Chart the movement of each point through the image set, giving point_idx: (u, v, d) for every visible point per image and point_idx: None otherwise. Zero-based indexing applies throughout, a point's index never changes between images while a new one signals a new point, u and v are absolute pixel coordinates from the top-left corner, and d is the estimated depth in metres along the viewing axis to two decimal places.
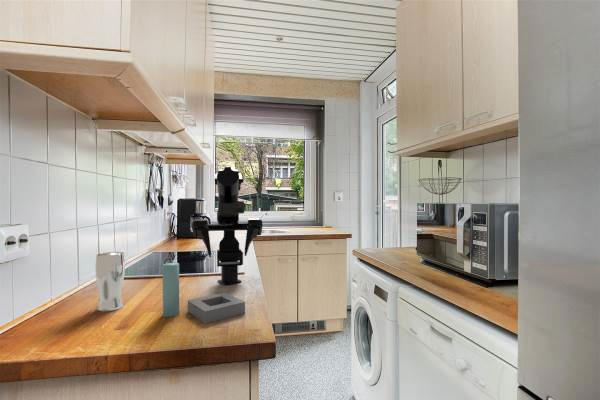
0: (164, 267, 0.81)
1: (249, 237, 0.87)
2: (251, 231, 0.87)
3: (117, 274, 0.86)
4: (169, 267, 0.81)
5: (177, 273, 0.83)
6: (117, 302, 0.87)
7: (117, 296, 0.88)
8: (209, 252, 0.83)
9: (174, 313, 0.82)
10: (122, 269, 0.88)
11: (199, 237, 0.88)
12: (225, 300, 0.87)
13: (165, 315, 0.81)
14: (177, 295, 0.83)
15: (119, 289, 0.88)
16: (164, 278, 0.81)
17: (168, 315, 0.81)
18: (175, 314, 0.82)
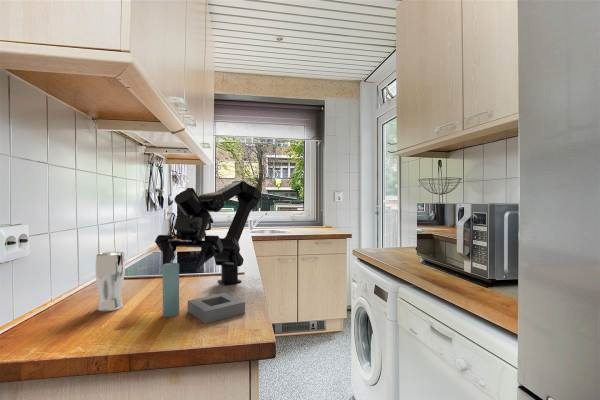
0: (164, 267, 0.81)
1: (203, 252, 0.89)
2: (205, 246, 0.90)
3: (117, 274, 0.86)
4: (169, 267, 0.81)
5: (177, 273, 0.83)
6: (117, 302, 0.87)
7: (117, 296, 0.88)
8: None
9: (174, 313, 0.82)
10: (122, 269, 0.88)
11: None
12: (225, 300, 0.87)
13: (165, 315, 0.81)
14: (177, 295, 0.83)
15: (119, 289, 0.88)
16: (164, 278, 0.81)
17: (168, 315, 0.81)
18: (175, 314, 0.82)
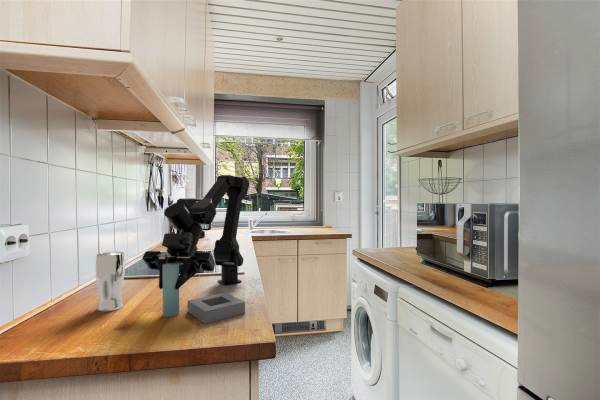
0: (164, 267, 0.81)
1: (184, 270, 0.84)
2: (187, 264, 0.84)
3: (117, 274, 0.86)
4: (169, 267, 0.81)
5: (177, 273, 0.83)
6: (117, 302, 0.87)
7: (117, 296, 0.88)
8: (160, 283, 0.82)
9: (174, 313, 0.82)
10: (122, 269, 0.88)
11: None
12: (225, 300, 0.87)
13: (165, 315, 0.81)
14: (177, 295, 0.83)
15: (119, 289, 0.88)
16: (164, 278, 0.81)
17: (168, 315, 0.81)
18: (175, 314, 0.82)
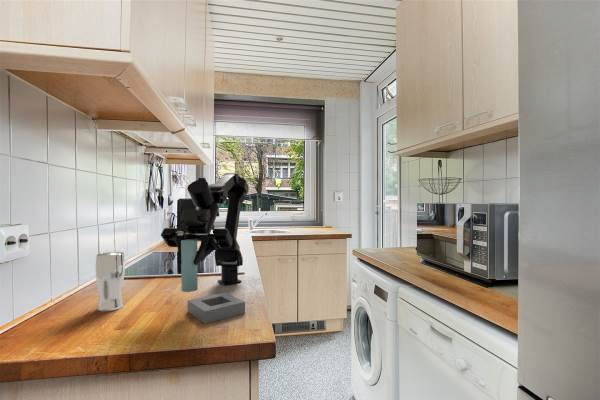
0: (183, 242, 0.82)
1: (202, 246, 0.84)
2: (205, 240, 0.84)
3: (117, 274, 0.86)
4: (188, 242, 0.82)
5: (195, 249, 0.83)
6: (117, 302, 0.87)
7: (117, 296, 0.88)
8: (178, 259, 0.83)
9: (193, 288, 0.82)
10: (122, 269, 0.88)
11: None
12: (225, 300, 0.87)
13: (184, 290, 0.82)
14: (195, 271, 0.83)
15: (119, 289, 0.88)
16: (183, 253, 0.82)
17: (187, 290, 0.82)
18: (194, 289, 0.83)
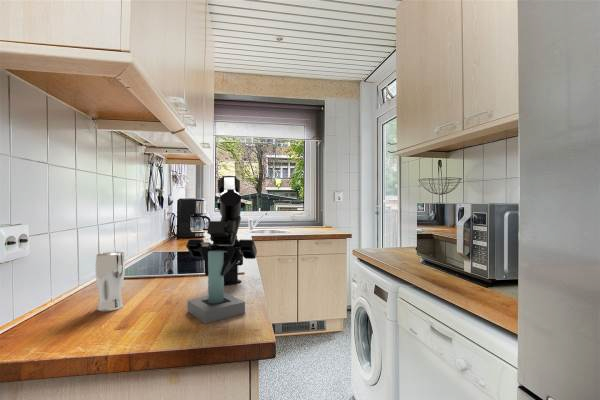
0: (210, 254, 0.83)
1: (229, 257, 0.85)
2: (231, 251, 0.85)
3: (117, 274, 0.86)
4: (215, 254, 0.82)
5: (222, 260, 0.84)
6: (117, 302, 0.87)
7: (117, 296, 0.88)
8: (205, 270, 0.84)
9: (220, 299, 0.83)
10: (122, 269, 0.88)
11: (204, 257, 0.90)
12: (225, 300, 0.87)
13: (211, 301, 0.83)
14: (222, 282, 0.84)
15: (119, 289, 0.88)
16: (210, 265, 0.83)
17: (214, 301, 0.83)
18: (221, 300, 0.83)
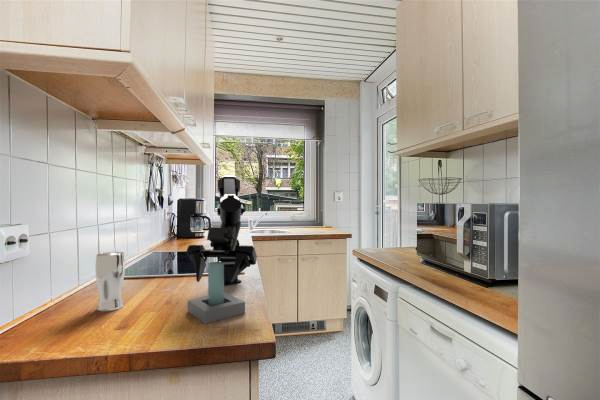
0: (210, 266, 0.83)
1: (237, 264, 0.85)
2: (240, 257, 0.85)
3: (117, 274, 0.86)
4: (215, 266, 0.82)
5: (222, 272, 0.84)
6: (117, 302, 0.87)
7: (117, 296, 0.88)
8: (197, 276, 0.84)
9: None
10: (122, 269, 0.88)
11: (196, 263, 0.90)
12: (225, 300, 0.87)
13: None
14: (222, 293, 0.84)
15: (119, 289, 0.88)
16: (210, 277, 0.83)
17: None
18: None
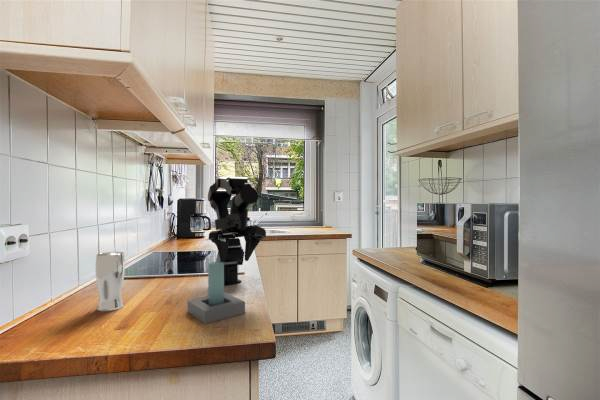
0: (210, 266, 0.83)
1: (247, 244, 0.95)
2: (248, 238, 0.95)
3: (117, 274, 0.86)
4: (215, 266, 0.82)
5: (222, 272, 0.84)
6: (117, 302, 0.87)
7: (117, 296, 0.88)
8: (221, 259, 0.99)
9: None
10: (122, 269, 0.88)
11: None
12: (225, 300, 0.87)
13: None
14: (222, 293, 0.84)
15: (119, 289, 0.88)
16: (210, 277, 0.83)
17: None
18: None
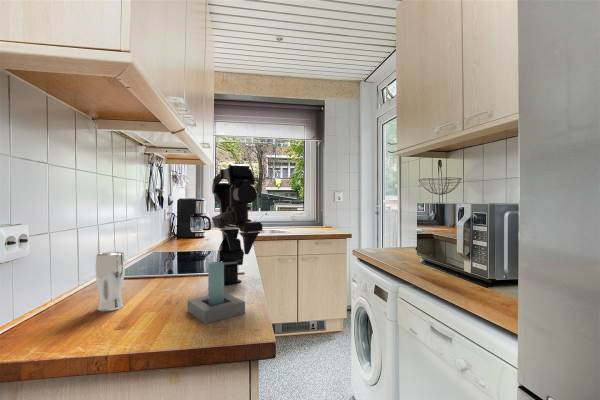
0: (210, 266, 0.83)
1: (244, 240, 0.97)
2: (243, 235, 0.96)
3: (117, 274, 0.86)
4: (215, 266, 0.83)
5: (222, 272, 0.84)
6: (117, 302, 0.87)
7: (117, 296, 0.88)
8: (229, 248, 1.05)
9: None
10: (122, 269, 0.88)
11: None
12: (225, 300, 0.87)
13: None
14: (222, 293, 0.84)
15: (119, 289, 0.88)
16: (210, 277, 0.83)
17: None
18: None
